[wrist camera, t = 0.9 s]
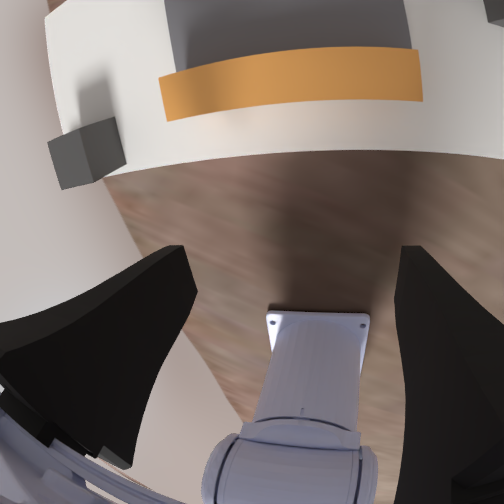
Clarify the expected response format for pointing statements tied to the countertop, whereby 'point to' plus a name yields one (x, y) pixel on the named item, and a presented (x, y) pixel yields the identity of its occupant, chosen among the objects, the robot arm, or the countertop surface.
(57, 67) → the board
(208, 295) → the countertop surface
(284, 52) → the switch
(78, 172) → the plug
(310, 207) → the countertop surface
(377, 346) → the countertop surface
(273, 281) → the countertop surface
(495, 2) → the plug
